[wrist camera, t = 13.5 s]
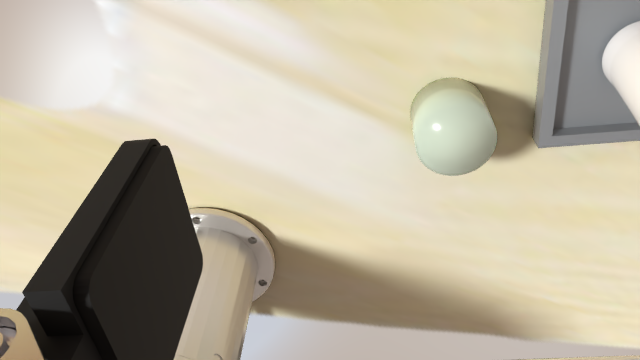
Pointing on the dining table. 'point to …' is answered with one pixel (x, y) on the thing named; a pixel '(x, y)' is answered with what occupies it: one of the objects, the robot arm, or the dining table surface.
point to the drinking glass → (625, 66)
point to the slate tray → (581, 75)
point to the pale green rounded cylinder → (452, 127)
